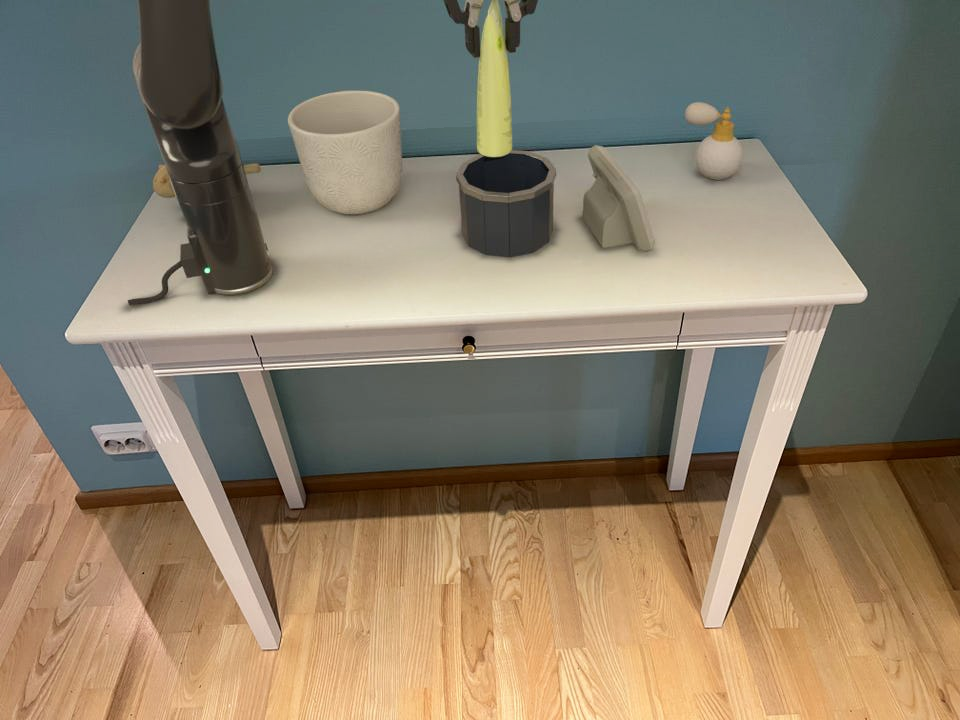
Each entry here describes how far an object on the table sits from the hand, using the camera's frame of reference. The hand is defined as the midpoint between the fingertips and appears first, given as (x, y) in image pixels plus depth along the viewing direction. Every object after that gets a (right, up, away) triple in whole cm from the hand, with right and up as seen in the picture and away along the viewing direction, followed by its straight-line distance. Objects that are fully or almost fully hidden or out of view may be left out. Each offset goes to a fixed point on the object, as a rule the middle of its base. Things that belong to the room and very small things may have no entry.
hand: (492, 52), depth 93 cm
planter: (-22, -13, +28) cm, 38 cm away
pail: (+3, -20, +19) cm, 27 cm away
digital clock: (+19, -19, +18) cm, 33 cm away
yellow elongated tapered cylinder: (0, -10, +9) cm, 13 cm away
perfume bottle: (+37, -9, +29) cm, 48 cm away
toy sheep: (-45, -14, +29) cm, 56 cm away
